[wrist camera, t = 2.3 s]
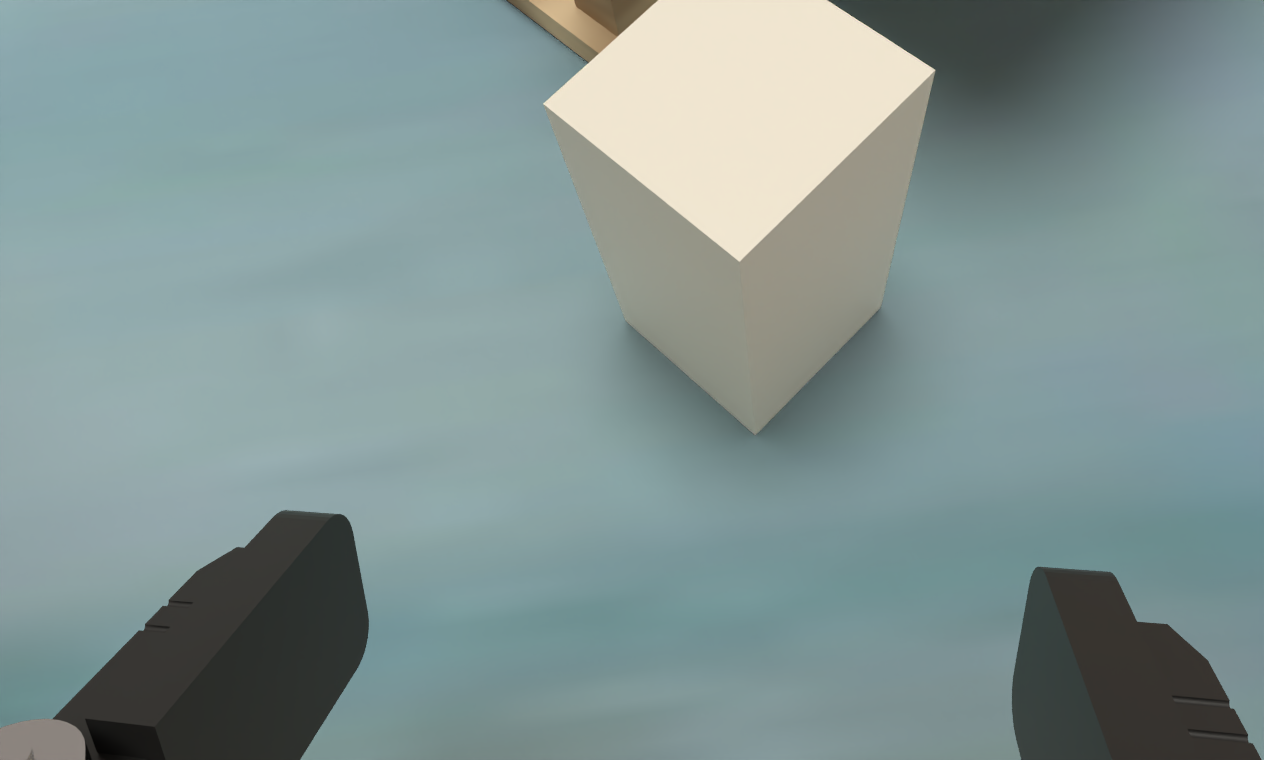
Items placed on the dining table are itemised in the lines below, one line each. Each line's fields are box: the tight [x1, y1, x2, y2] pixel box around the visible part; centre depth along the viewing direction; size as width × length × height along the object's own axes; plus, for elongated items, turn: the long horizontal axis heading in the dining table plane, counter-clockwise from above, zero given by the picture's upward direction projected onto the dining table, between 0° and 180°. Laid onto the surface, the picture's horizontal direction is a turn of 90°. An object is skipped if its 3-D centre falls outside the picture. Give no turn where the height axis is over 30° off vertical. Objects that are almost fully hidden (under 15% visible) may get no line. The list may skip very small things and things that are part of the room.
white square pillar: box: [543, 0, 935, 436], centre depth 22 cm, size 5×5×10 cm
